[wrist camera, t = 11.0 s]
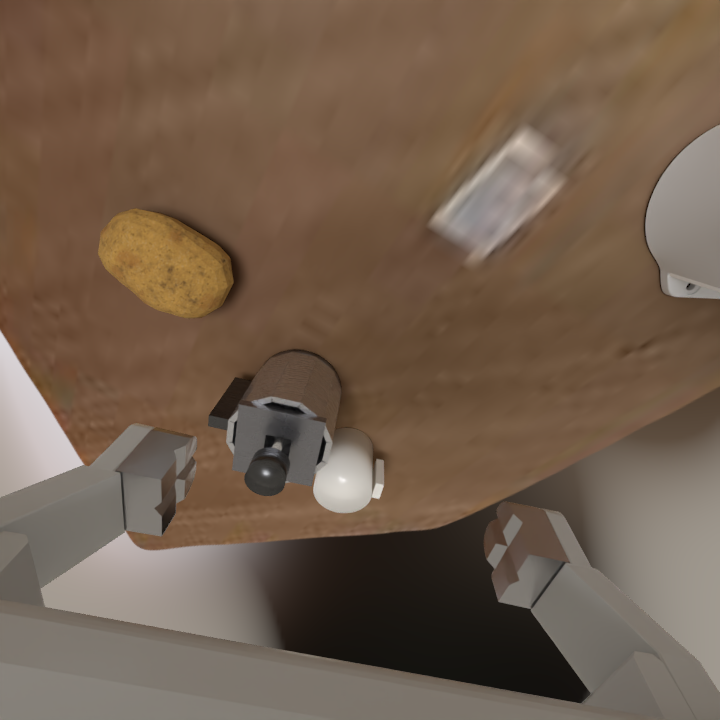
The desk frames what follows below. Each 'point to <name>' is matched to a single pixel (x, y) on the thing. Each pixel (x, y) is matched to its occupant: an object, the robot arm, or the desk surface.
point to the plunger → (269, 465)
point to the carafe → (283, 413)
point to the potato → (166, 263)
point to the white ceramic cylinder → (349, 473)
